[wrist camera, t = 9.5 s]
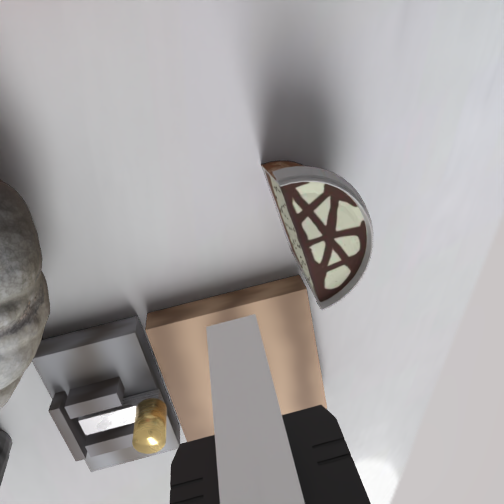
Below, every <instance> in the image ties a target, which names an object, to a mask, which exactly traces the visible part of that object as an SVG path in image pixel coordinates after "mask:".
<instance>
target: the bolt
mask: <svg viewBox="0 0 504 504" xmlns="http://www.w3.org/2000/svg"><path fill="white" fill-rule="evenodd" d="M78 422H79V424H80V425H81V427H82V429H83V431H84V433H85V435H89V434H93V433H97V432H100V431H104V430H108V429H112V428H115V427H119V426H123V425H127V424H130V423H134V422H135V423H134V431H133V440H132V445H133V447H134V448H135V449H136V450H137V451H138V452H140V453H144V454H152V453H156V452H158V451H160V450H161V449H162V448H163V447H164V446H165V443H166V422H167V407H166V404H165V403H164V400H163V397H162V395H161V392H160V390H159V389H156V390H152V391H149V392H145V393H141V394H137V395H133V396H130V397H126V398H123V402H122V406H118V407H115V408H111V409H107V410H103V411H99V412H96V413H92V414H88V415H84V416H80V417H79V420H78Z"/></svg>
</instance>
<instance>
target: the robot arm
mask: <svg viewBox="0 0 504 504" xmlns="http://www.w3.org/2000/svg"><path fill="white" fill-rule="evenodd" d="M206 330H207V343H208V356H209V369H210V381H211V394H212V407H213V420H214V433H215V435H212V436H208V437H204V438H201V439H197V440H193V441H189V442H186V443H182V444H180V445H179V448H178V450H177V452H176V454H175V457H174V459H173V461H172V464H171V482H170V486H171V490H170V504H371V503H370V501H369V498H368V496H367V493H366V491H365V489H364V486H363V484H362V481H361V479H360V476H359V474H358V471H357V469H356V466H355V464H354V461H353V459H352V457H351V454H350V451H349V449H348V446H347V444H346V441H345V440H344V437H343V434H342V432H341V429H340V427H339V424H338V422H337V419H336V418H335V417H334V416H333V415H332V414H331V413H330V412H329V411H328V410H327V409H326V408H325V407H324V406H322V405H318V406H314V407H310V408H307V409H303V410H299V411H295V412H292V413H288V414H284V415H282V414H281V410H280V407H279V403H278V399H277V395H276V391H275V387H274V384H273V380H272V376H271V372H270V368H269V365H268V361H267V357H266V353H265V349H264V345H263V342H262V338H261V334H260V330H259V326H258V323H257V319H256V315H255V314H253V315H250V316H246V317H242V318H238V319H234V320H231V321H227V322H223V323H219V324H215V325H212V326H208V327H206Z"/></svg>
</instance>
